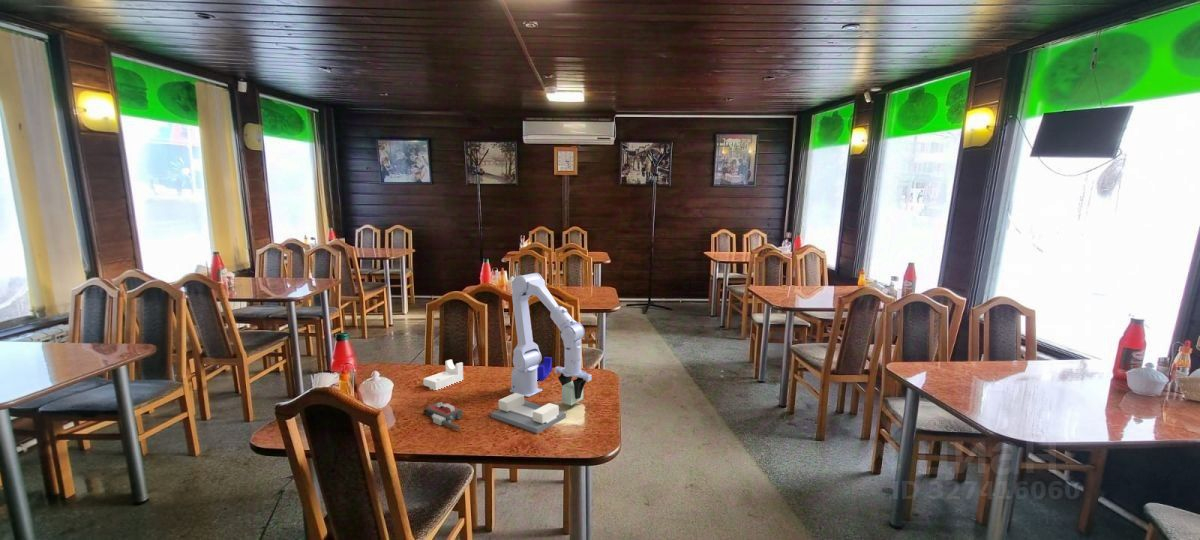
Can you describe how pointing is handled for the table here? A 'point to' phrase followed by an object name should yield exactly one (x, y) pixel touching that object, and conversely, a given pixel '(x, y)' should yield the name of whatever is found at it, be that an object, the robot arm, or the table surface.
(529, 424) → the mounting plate
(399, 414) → the table surface
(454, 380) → the bracket
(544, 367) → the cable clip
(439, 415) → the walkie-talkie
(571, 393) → the module block
